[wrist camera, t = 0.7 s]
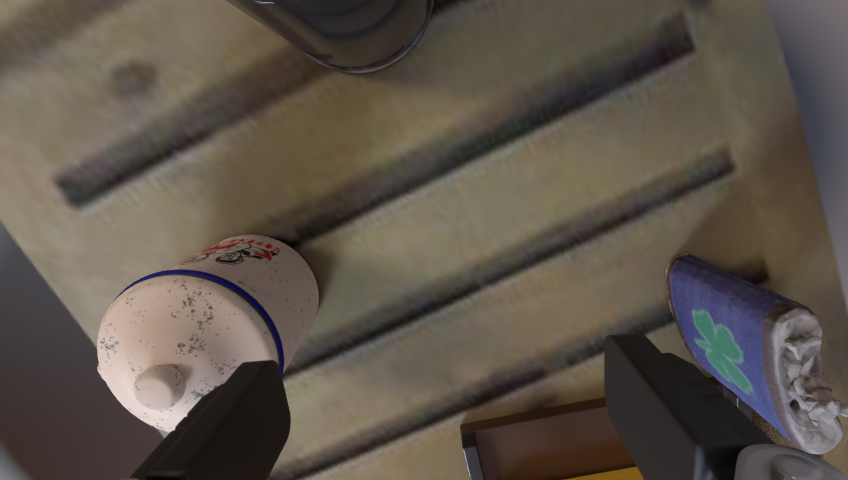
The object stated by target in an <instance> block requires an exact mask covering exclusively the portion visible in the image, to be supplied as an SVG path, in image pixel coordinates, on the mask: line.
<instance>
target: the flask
mask: <svg viewBox="0 0 848 480" xmlns="http://www.w3.org/2000/svg"><path fill="white" fill-rule="evenodd" d="M665 272H666V277H665V284H666V288H667V298H668V299H669V306H670V310H671V312H672V314H673V318H674V321H675V322H676V324H677V326H678V329H679V332H680V334H681V336H682V339H684V343H685V345H686V347H687V348H688V350H689V352H690V355H692V357H693V358H694V359H695V360H696V362H697V363H698V364H699V365H700V366H701V367H702V368H704V369H705V370H706V371H708V372H710V373H711V374H712V375H713V376H714V377H715V378H716V379H717V380H718V381H720V382H721V383H722V384H723V385H725V386H726V387H727V388H729V389H730V390H731V391H733V392H734V393H735V394H736V395H737V396H738V397H739V398H740V399H741V400H742V401H744V402H745V403H747V404H748V405H749V406H750V407H751V408H753V409H754V410H755V411H756V412H757V413H758V414H759V415H761V416H762V417H763V418H764V419H766V420H767V421H768V422H769V423H770V424H772V425H773V426H774V427H775V428H776V429H777V430H778V431H779V432H780V433H781V434H783V435H784V436H785V437H787V438H788V439H789V440H790V441H791V442H792V443H793V444H794V445H796V446H797V447H798V448H800V449H801V450H802V451H804V452H807V453H809V454H823V453H827V452H828V451H830V450H831V449H833V448H835V447H836V446H837V444H838V443H839V442H841V441H842V440H843V429H842V425H841V423H840V421H839V419H838V417H837V416H838V415H843V416H845V417H848V404H841V403H840V399H839V400H837V399H835V398H834V397H833V395H832V389H831V388H830V386H829V384H828V383H827V382H826V379H825V378H824V373H823V371H822V366H821V361H822V360H821V357H820V348H821V344H822V342H823V341H822V339H821V338H822V335H823V331H822V328H821V324H820V320H819V318H818V317H817V316H816V314H814V313H813V312H812V311H811V310H810V309H809V308H808V307H806V306H803V305H802V304H799V303H798V302H796V301H792V300H790V299H787V298H785V297H783V296H781V295H779V294H776V293H774V292H773V291H771V290H767V289H765V288H762V287H760V286H757V285H755V284H753V283H751V282H748V281H745V280H743V279H741V278H740V277H738V276H736V275H734V274H732V273H731V272H727V271H724V270H721V269H718V268H716V267H713V266H712V265H709V264H707V263H705V262H703V261H701V260H699V259H697V258H695V257H693V256H690V255H688V253H687V252H686V253H685V254H684V255H681V256H680V255H679V256H678V257H675V258H673V259H672V261H670V262H669V263H668V266H667V269H666V271H665Z"/></svg>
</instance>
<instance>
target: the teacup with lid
mask: <svg viewBox="0 0 848 480" xmlns="http://www.w3.org/2000/svg"><path fill="white" fill-rule="evenodd" d="M318 305H319V292H318V286H317V283H316V280H315V277H314V275H313V273H312V271H311V269H310V267H309V266H308V264H307V263H306V261H305V260H304V259H303V258H302V257H301V256H300V255H299V254H298V253H297V252H296V251H295V250H293V249H292V248H291V247H289V246H288V245H286V244H284V243H282V242H280V241H278V240H276V239H273V238H270V237H267V236H262V235H239V236H234V237H231V238H228V239H225V240H223V241H221V242H219V243H217V244H216V245H214V246H212V247H210V248H208V249H206V250H204V251H202V252H201V253H199V254H197V255H195V256H193V257H191V258H189V259H187V260H186V261H184V262H182V263H180V264H178V265H176V266H174V267H173V268H171V269H169V270H167V271H161V272H157V273H154V274H150V275H148V276H145V277H143V278H141V279H139V280H137V281H135V282H134V283H132V284H131V285H129V286H128V287H127V288H126V289H124V290H123V291H122V292H121V293H120V294H119V295H118V296H117V298H116V299H115V300H114V302H113V303H112V304H111V306H110V307H109V309H108V310H107V312H106V314H105V316H104V318H103V321H102V323H101V326H100V330H99V334H98V342H97V351H98V359H99V365H98V371H99V373H100V375H101V377H102V378H103V379H104V380H105V381H106V383H107V385H108V386H109V388H110V390H111V391H112V392H113V394H114V395H115V397H116V398H117V399H118V400H119V401H120V402H121V404H123V406H124V407H125V408H126V409H128V410H129V411H130V412H131V413H132V414H134V415H135V416H136V417H138V418H139V419H141V420H142V421H144V422H146V423H147V424H149V425H151V426H153V427H155V428H158V429H160V430H163V431H166V432H169V433H170V432H171V431H172V430H175V427H176V426H177V424H178V423H179V422H180V421H181V420H182V419H183V418H184V417H187V413H188V412H189V411H190V410H191V409H192V408H193V407H194V406H195V404H196V403H197V402H198V401H199V400H200V399H201V398H202V397H203V396H205V395H206V394H208V393H209V392H211V391H212V390H213V389H215V388H216V387H218V386H219V385H221V384H224V383H225V382H226V381H227V379H228V378H229V377H230V376H231V375H232V374H233V373H234V371H235V370H236V369H237V368H238V367H239V366H240V365H241V364H242V363H243V362H251V361H265V360H275V361H276V362H277V363H278V365H279V368H280V372H281V376H282V377H283V373H284V371H285V369H286V368H287V366H288V364H289V362H290V361H291V359H292V357H293V356H294V354H295V352H296V351H297V349H298V347H299V346H300V344H301V342H302V341H303V339H304V337H305V336H306V334H307V332H308V331H309V329H310V327H311V326H312V324H313V322H314V320H315V317H316V314H317V310H318Z"/></svg>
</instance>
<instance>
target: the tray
mask: <svg viewBox="0 0 848 480" xmlns="http://www.w3.org/2000/svg"><path fill="white" fill-rule="evenodd" d="M564 480H644V479H643V477H642V475H641V473H640V472H639V470H638V468H637V466H636V467H631V468H625V469H620V470H614V471H608V472H603V473H597V474H592V475H586V476H580V477H575V478H569V479H564Z"/></svg>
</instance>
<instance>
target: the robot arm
mask: <svg viewBox="0 0 848 480" xmlns="http://www.w3.org/2000/svg"><path fill="white" fill-rule="evenodd" d="M226 1H227V2H229V3H230V4H232V5H233V6H235V7H236V8H238V9H239V10H241V11H242V12H244V13H245V14H247V15H249V16H250V17H252V18H253V19H255V20H256V21H258V22H259V23H261V24H262V25H264V26H265V27H267V28H268V29H270V30H272V31H273V32H275V33H276V34H278V35H279V36H281V37H282V38H284V39H285V40H287V41H288V42H290V43H291V44H293V45H294V46H296V47H297V48H299V49H300V50H301V51H302V52H303V54H304V53H305V54H306V56H308V57H309V58H311V59H312V60H314V61H315V62H317V63H319V64H321V65H322V66H325V67H327V68H329V69H332V70H334V71H338V72H342V73H347V74H368V73H373V72H377V71H380V70H383V69H386V68H388V67H390V66H392V65H394V64H395V63H397V62H398V61H400V60H401V59H403V58H404V57H405V56H406V55H407V54H408V53H409V52H410V51H411V50H412V49H413V48H414V47H415V46H416V44H417V43H418V42H419V40H420V39H421V37H422V36H423V34H424V32H425V30H426V28H427V26H428V23H429V21H430V18H431V15H432V11H433V6H434V0H226ZM271 33H272V32H271ZM274 35H275V34H274ZM277 37H278V36H277ZM280 39H281V38H280ZM604 352H605V402H606V407H607V411H608V414H609V417H610V419H611V421H612V423H613V425H614V427H615V429H616V430H617V432H618V434H619V436H620V438H621V439H622V441H623V443H624V445H625V447H626V448H627V450H628V452H629V454H630V456H631V457H632V459H633V461H634V463H635V464H636V466H637V468H638V470H639V472H640V473H641V475H642V477H643V479H644V480H848V476H847V475H846V474H844V473H843V472H841V471H840V470H839V469H837V468H836V467H834V466H833V465H831V464H830V463H828V462H826V461H824V460H822V459H820V458H818V457H816V456H814V455H812V454H809V453H807V452H804V451H801V450H798V449H795V448H791V447H788V446H783V445H777V444H775V443H774V442H773V441H772V440H771V439H770V438H769V437H768V436H767V435H766V434H765V433H764V432H763V431H761V430H760V429H759V428H758V427H757V426H756V425H755V424H754V423H753V422H752V421H751V420H750V419H749V418H748V417H747V416H746V415H745V414H744V413H743V412H742V411H741V410H740V409H739V408H738V407H737V406H736V405H735V404H734V403H733V402H731V401H730V400H729V399H728V398H727V397H724V396H723V393H722V392H721V391H720V390H719V389H718V388H717V387H716V386H715V385H714V384H713V383H712V384H710V380H709V379H708V378H707V377H706V376H705V375H704V374H702V373H701V372H700V371H699V370H698V369H697V368H696V367H695V366H694V365H693V364H691V363H689V362H687V361H685V360H683V359H681V358H680V357H678V356H676V355H674V354H672V353H661V352H660V351H659V350H658V349H657V348H656V347H655V346H654V345H653V343H652V342H651V341H650V340H649V339H648V338H647V337H646V336H645V335H644V334H642V333H632V334H619V335H608V336H607V337H606V339H605V347H604ZM290 423H291V418H290V411H289V406H288V402H287V398H286V393H285V389H284V385H283V380H282V376H281V372H280V368H279V365H278V363H277V362H276V361H275V360H265V361H251V362H243V363H242V364H241V365H240V366H239V367H238V368H237V369H236V370H235V371H234V373H233V374H232V375H231V376H230V377H229V378H228V379H227V381H226V382H225V383H224V384H221V385H219V386H218V387H216V388H215V389H213V390H212V391H211V392H209V393H208V394H206V395H205V396H203V397H202V398H201V399H200V400H199V401H198V402H197V403H196V404H195V406H194V407H193V408H192V409H191V410H190V411H189V412H188V413H187V417H184V418H183V419H182V420H181V421H180V422H179V423H178V424H177V426H176V427H175V430H172V431H171V432H170V433H169V434H168V436H167V437H166V438H165V439H164V440H163V441H162V442H161V444H160V445H159V446H158V447H157V448H156V449H155V450H154V451H153V452H152V453H151V454H150V456H149V457H148V458H147V459H146V460H145V461H144V462H143V464H142V465H141V466H140V467H139V468H138V469H137V470H136V471H135V472H134V473H133V475H132V476H131V477H130V478H123V479H118V480H267V479H268V477H269V475H270V473H271V471H272V469H273V467H274V465H275V463H276V461H277V459H278V457H279V455H280V453H281V451H282V449H283V447H284V445H285V443H286V441H287V439H288V436H289V431H290Z"/></svg>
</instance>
